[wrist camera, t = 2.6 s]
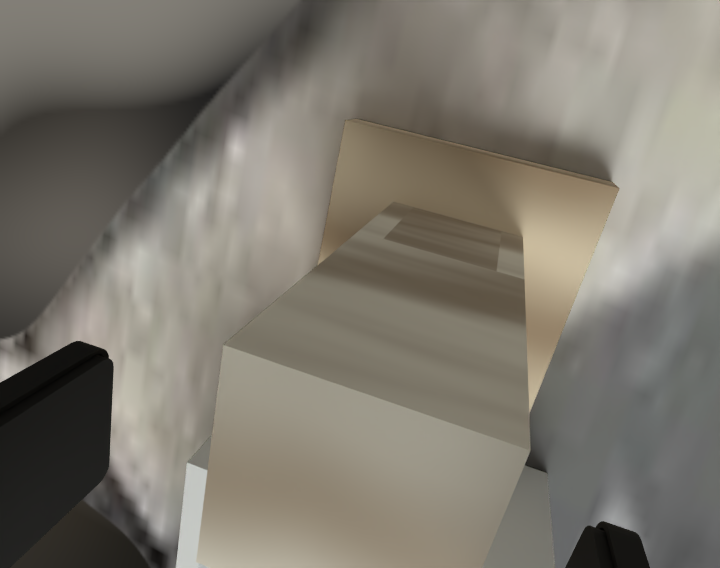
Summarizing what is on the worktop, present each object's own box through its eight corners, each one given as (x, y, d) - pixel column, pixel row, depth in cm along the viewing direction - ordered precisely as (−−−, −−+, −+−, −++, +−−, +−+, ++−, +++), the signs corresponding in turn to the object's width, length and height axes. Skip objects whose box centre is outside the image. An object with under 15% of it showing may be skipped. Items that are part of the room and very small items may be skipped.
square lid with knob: (356, 118, 21) (302, 125, 16) (612, 181, 20) (647, 213, 14) (313, 335, 25) (259, 398, 20) (524, 404, 23) (526, 494, 18)
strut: (393, 201, 20) (223, 345, 9) (522, 236, 20) (531, 451, 8) (366, 316, 22) (195, 562, 11) (483, 353, 21) (440, 667, 10)
